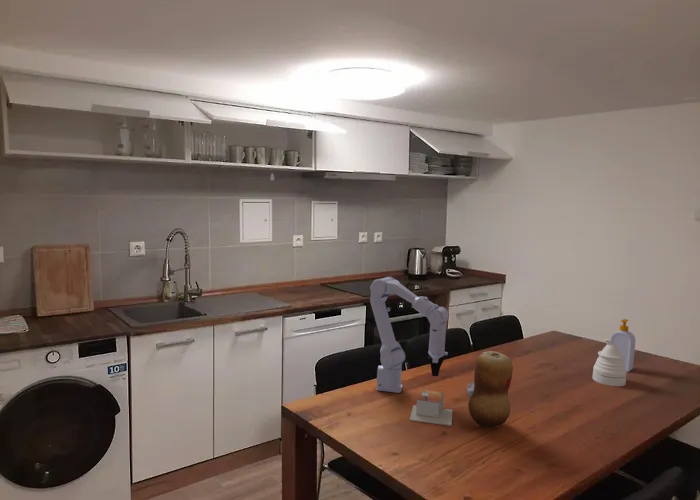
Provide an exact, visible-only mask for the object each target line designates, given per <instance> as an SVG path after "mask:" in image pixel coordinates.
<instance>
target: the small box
mask: <svg viewBox="0 0 700 500" xmlns="http://www.w3.org/2000/svg"><path fill="white" fill-rule="evenodd" d="M444 394H445V393H444V392H441V391H433V390H428V389H422V390H421V391H420V393H419V395H418V396H417V399H416V405H417V406H416V415H423V416H429V417H435V418H439V416H440V413H441V411H442V409H444V396H445V395H444Z"/></svg>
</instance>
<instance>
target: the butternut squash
mask: <svg viewBox="0 0 700 500" xmlns="http://www.w3.org/2000/svg"><path fill="white" fill-rule="evenodd" d="M476 359H477V360H476V363H475V368H474V374H473V375H474V377H473V378H474V379H473V382H474V391H473V393H472V395H471V397H470V398H469V399H468V400H469V401H468V403H467V406H468V413H469V416H470V417H471V419H472V420H473V421H474V423H475V424H476V425H478V426H480V427H484V428H496V427H499V426H502V425H504V424H505V423H506V422H507V420H508V418H509V416H510V414H511V403H510V399H509V390H510V386H511V382H512V380H513V379H512V378H513V369H514V367H513V366H514V365H513V361H512V358H510V357H509V356H507V355H505V354H504V353H501V352H498V351H494V350H489V351H483V352H481V354H479V356H478V358H476Z"/></svg>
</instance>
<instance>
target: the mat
mask: <svg viewBox="0 0 700 500" xmlns="http://www.w3.org/2000/svg"><path fill="white" fill-rule="evenodd" d="M416 406H417V404H414V405H412V409H411V413H410V417H409V421H410V422H418V423H419V422H420V423H425V424H426V423H427V424H435V425H442V426H450V427H452V424H453V409H449V408H442V411H441V413H440V416H439V418H435V417H429V416H423V415H416Z"/></svg>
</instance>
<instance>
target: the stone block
mask: <svg viewBox="0 0 700 500" xmlns="http://www.w3.org/2000/svg"><path fill="white" fill-rule="evenodd" d="M473 391H474V381H472V382H468V385H467V388H466V392H467V396H468V397H471V395H472V393H473Z"/></svg>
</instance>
